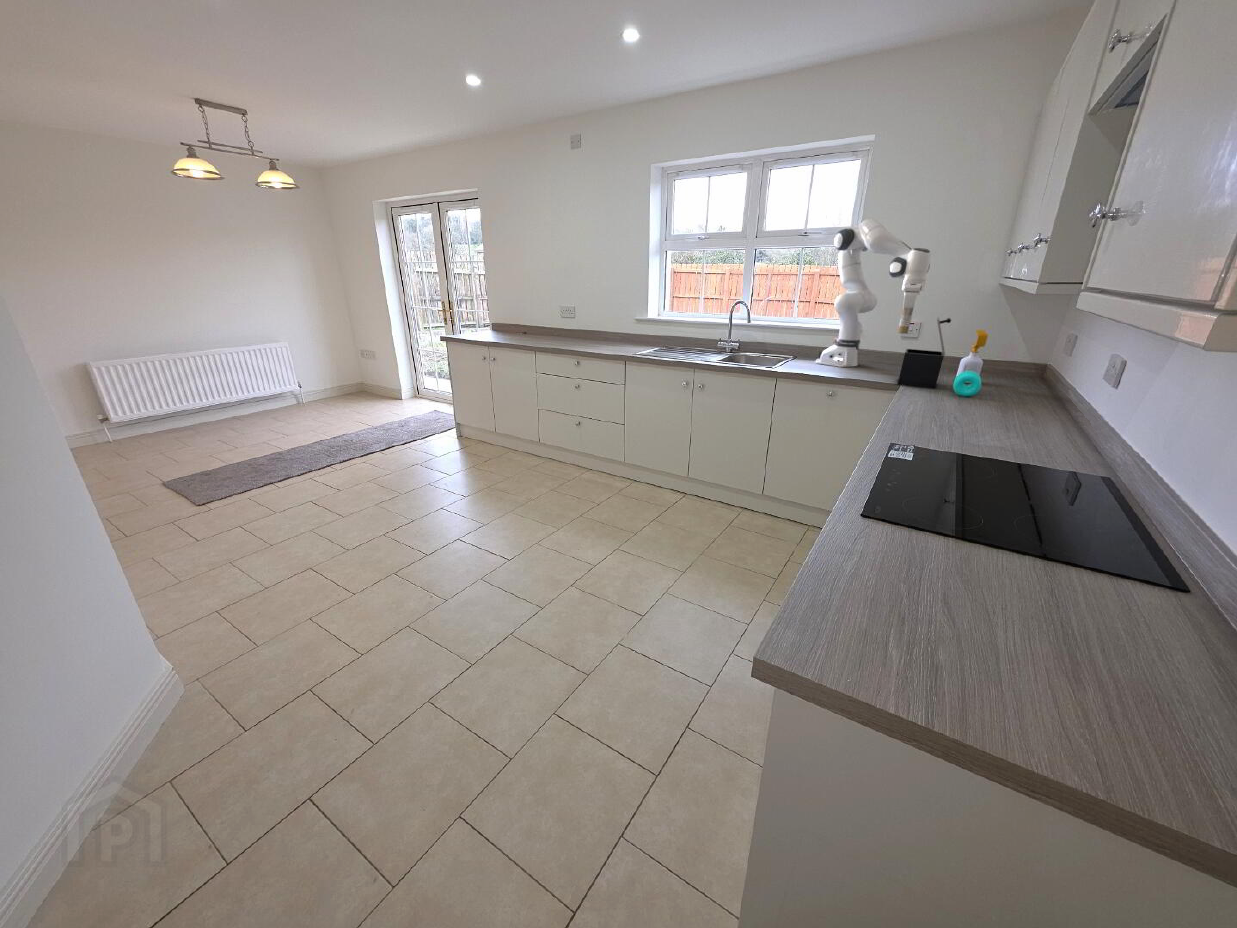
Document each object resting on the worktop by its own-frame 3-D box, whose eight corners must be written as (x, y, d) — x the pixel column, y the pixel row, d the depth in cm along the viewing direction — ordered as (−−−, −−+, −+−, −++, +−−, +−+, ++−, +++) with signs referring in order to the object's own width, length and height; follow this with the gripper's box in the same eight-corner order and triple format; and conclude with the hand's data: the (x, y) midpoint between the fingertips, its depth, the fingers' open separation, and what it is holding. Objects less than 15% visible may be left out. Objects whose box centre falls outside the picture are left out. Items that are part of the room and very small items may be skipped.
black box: (897, 384, 234) (905, 352, 228) (899, 379, 244) (906, 348, 238) (935, 388, 226) (943, 356, 220) (935, 383, 236) (943, 351, 230)
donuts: (977, 393, 219) (984, 371, 215) (977, 398, 211) (984, 376, 207) (951, 390, 224) (957, 369, 220) (950, 395, 216) (956, 373, 212)
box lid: (937, 319, 217) (950, 316, 214) (937, 317, 227) (949, 313, 224) (943, 355, 220) (956, 352, 218) (942, 351, 230) (955, 348, 227)
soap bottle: (970, 379, 244) (985, 329, 234) (980, 384, 236) (996, 332, 226) (951, 379, 245) (965, 329, 235) (961, 383, 236) (976, 332, 227)
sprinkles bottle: (899, 332, 234) (906, 303, 229) (909, 333, 231) (916, 303, 225) (895, 333, 231) (901, 303, 226) (905, 334, 228) (912, 304, 223)
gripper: (906, 285, 232) (899, 315, 238) (904, 287, 216) (897, 319, 222) (921, 285, 229) (914, 316, 235) (920, 287, 213) (912, 320, 219)
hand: (906, 317), depth 228 cm, fingers closed on sprinkles bottle, 4 cm apart
